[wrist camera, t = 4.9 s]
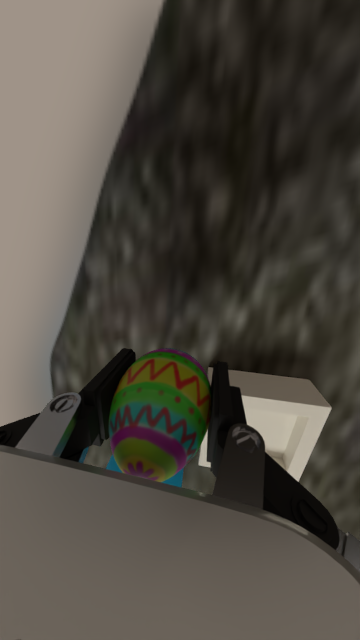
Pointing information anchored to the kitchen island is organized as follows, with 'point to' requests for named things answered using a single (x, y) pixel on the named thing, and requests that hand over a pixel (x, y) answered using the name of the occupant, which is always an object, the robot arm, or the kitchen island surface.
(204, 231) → the kitchen island surface
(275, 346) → the kitchen island surface
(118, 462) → the egg
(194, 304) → the kitchen island surface
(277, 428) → the square tray
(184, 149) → the kitchen island surface
